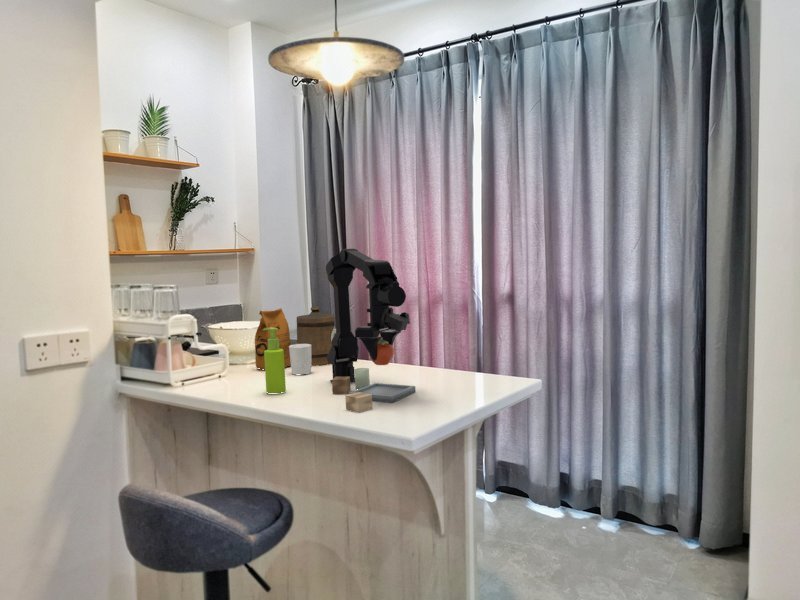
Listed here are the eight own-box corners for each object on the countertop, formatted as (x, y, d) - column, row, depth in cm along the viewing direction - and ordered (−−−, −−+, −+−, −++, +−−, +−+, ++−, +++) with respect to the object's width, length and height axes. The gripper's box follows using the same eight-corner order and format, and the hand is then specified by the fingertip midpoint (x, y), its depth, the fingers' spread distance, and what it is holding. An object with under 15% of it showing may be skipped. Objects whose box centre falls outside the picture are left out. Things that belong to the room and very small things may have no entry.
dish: (350, 398, 183) (349, 392, 182) (375, 388, 195) (375, 382, 195) (392, 402, 176) (391, 396, 176) (415, 392, 188) (415, 386, 188)
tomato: (390, 361, 189) (389, 334, 188) (397, 365, 182) (396, 337, 181) (366, 363, 187) (365, 336, 186) (372, 367, 180) (371, 339, 179)
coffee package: (251, 369, 235) (248, 310, 233) (277, 364, 244) (274, 307, 243) (269, 372, 228) (266, 311, 227) (295, 366, 238) (292, 308, 237)
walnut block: (332, 394, 189) (331, 379, 189) (336, 391, 194) (335, 376, 193) (347, 394, 189) (346, 379, 188) (350, 391, 193) (350, 376, 193)
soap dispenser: (277, 389, 199) (273, 326, 198) (289, 392, 195) (286, 327, 193) (260, 392, 195) (257, 328, 194) (273, 395, 190) (269, 329, 189)
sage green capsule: (352, 389, 195) (351, 370, 194) (360, 386, 199) (359, 367, 198) (364, 390, 193) (364, 371, 192) (372, 387, 197) (371, 368, 196)
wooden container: (343, 362, 243) (341, 305, 241) (309, 367, 235) (306, 308, 233) (325, 357, 255) (322, 303, 254) (291, 362, 247) (288, 306, 245)
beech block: (346, 410, 170) (345, 395, 170) (360, 406, 174) (359, 392, 174) (358, 413, 167) (357, 398, 166) (372, 409, 170) (371, 394, 170)
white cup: (317, 372, 225) (316, 344, 224) (302, 376, 218) (301, 347, 218) (300, 370, 229) (299, 343, 228) (285, 374, 223) (284, 346, 222)
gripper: (387, 308, 171) (389, 365, 172) (419, 301, 187) (420, 354, 189) (352, 307, 176) (354, 363, 178) (386, 301, 193) (388, 352, 194)
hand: (381, 357), depth 184 cm, fingers closed on tomato, 7 cm apart
